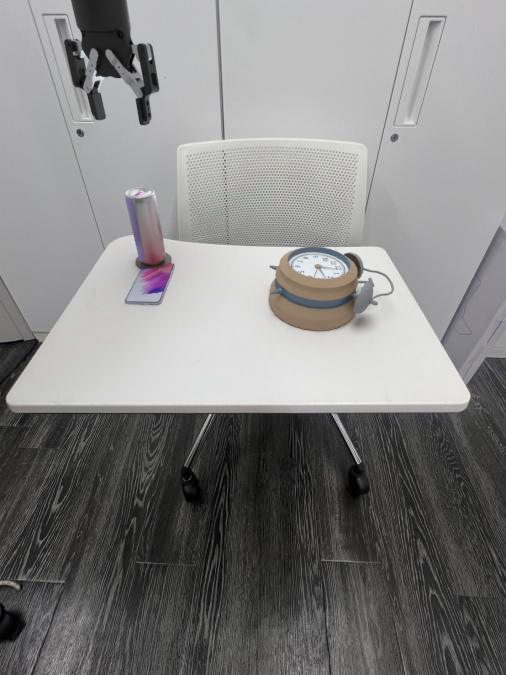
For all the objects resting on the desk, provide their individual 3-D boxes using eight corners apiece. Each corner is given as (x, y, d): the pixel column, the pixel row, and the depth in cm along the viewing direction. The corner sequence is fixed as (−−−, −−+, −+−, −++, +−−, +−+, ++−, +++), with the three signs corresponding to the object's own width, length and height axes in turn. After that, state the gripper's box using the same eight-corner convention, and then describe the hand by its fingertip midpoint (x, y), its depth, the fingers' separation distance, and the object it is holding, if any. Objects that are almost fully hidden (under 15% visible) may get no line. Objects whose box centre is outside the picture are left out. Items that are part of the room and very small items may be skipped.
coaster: (128, 266, 76) (128, 264, 75) (147, 250, 81) (146, 248, 81) (160, 273, 74) (160, 271, 74) (177, 256, 80) (177, 254, 80)
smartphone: (123, 302, 66) (143, 262, 77) (124, 306, 66) (144, 265, 77) (160, 303, 66) (175, 262, 77) (161, 306, 66) (176, 266, 77)
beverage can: (134, 263, 76) (118, 195, 66) (147, 251, 80) (134, 185, 70) (158, 268, 75) (146, 199, 65) (170, 255, 79) (160, 188, 69)
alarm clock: (270, 238, 68) (386, 242, 68) (267, 277, 74) (373, 281, 74) (272, 286, 55) (414, 291, 55) (268, 329, 61) (396, 333, 61)
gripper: (33, -19, 46) (72, 122, 57) (126, -17, 43) (149, 130, 54) (70, -13, 51) (100, 114, 62) (156, -11, 48) (171, 122, 59)
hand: (122, 122), depth 58 cm, fingers open, 8 cm apart
